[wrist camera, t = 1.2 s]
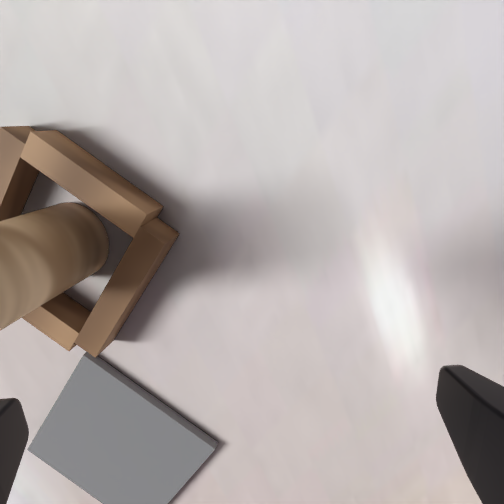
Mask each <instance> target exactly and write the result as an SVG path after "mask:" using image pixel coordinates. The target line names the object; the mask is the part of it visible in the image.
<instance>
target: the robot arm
mask: <svg viewBox="0 0 504 504" xmlns="http://www.w3.org/2000/svg"><path fill="white" fill-rule="evenodd" d="M436 402H437V407H438V409H439V412H440V414H441V416H442V419H443V421H444V423H445V426H446V428H447V430H448V433H449V435H450V437H451V440H452V442H453V444H454V447H455V449H456V451H457V454H458V456H459V458H460V460H461V463H462V465H463V467H464V469H465V471H466V474H467V476H468V478H469V480H470V481H471V483H472V485H473V487H474V489H475V491H476V493H477V494H478V496H479V498H480V500H481V502H482V503H483V504H504V387H503V386H501V385H499V384H497V383H495V382H494V381H492V380H490V379H488V378H486V377H484V376H482V375H480V374H478V373H476V372H474V371H472V370H470V369H468V368H466V367H464V366H462V365H449V366H443V367H442V368H441V369H440V372H439V379H438V386H437V393H436ZM28 436H29V430H28V425H27V422H26V419H25V415H24V412H23V409H22V406H21V403H20V401H19V400H18V399H16V398H8V399H0V504H6V503H7V500H8V497H9V494H10V491H11V488H12V485H13V482H14V479H15V476H16V473H17V470H18V467H19V465H20V462H21V459H22V456H23V453H24V450H25V447H26V444H27V441H28Z"/></svg>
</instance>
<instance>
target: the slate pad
mask: <svg viewBox="0 0 504 504" xmlns="http://www.w3.org/2000/svg"><path fill="white" fill-rule="evenodd" d="M217 444H218V442H217V441H216V440H214V439H213V438H211V437H210V436H209V435H207V434H206V433H204V432H203V431H202V430H200V429H199V428H197V427H196V426H195V425H193V424H192V423H190V422H189V421H188V420H186V419H185V418H183V417H182V416H181V415H179V414H178V413H176V412H175V411H174V410H172V409H171V408H169V407H168V406H167V405H165V404H164V403H162V402H161V401H160V400H158V399H157V398H155V397H154V396H153V395H151V394H150V393H148V392H147V391H146V390H144V389H143V388H141V387H140V386H139V385H137V384H136V383H134V382H133V381H132V380H130V379H129V378H127V377H126V376H125V375H123V374H122V373H120V372H119V371H118V370H116V369H115V368H113V367H112V366H111V365H109V364H108V363H106V362H105V361H104V360H102V359H101V358H99V357H98V356H97V357H96V358H95V357H94V356H92V355H91V354H89V353H88V352H86V353H85V354H84V355H83V357H82V358H81V360H80V362H79V363H78V365H77V367H76V368H75V370H74V372H73V373H72V375H71V377H70V379H69V380H68V382H67V384H66V385H65V387H64V389H63V390H62V392H61V394H60V395H59V397H58V399H57V401H56V402H55V404H54V406H53V407H52V409H51V411H50V412H49V414H48V416H47V417H46V419H45V421H44V423H43V424H42V426H41V428H40V429H39V431H38V433H37V434H36V436H35V438H34V439H33V441H32V443H31V444H30V446H29V448H28V451H30V452H31V453H33V454H34V455H35V456H37V457H38V458H40V459H41V460H42V461H44V462H45V463H47V464H48V465H49V466H51V467H52V468H54V469H55V470H56V471H58V472H59V473H61V474H62V475H63V476H65V477H66V478H68V479H69V480H70V481H72V482H73V483H75V484H76V485H77V486H79V487H80V488H82V489H83V490H84V491H86V492H87V493H89V494H90V495H91V496H93V497H94V498H96V499H97V500H98V501H100V502H101V503H103V504H168V503H169V502H170V501H171V499H172V498H173V497H174V496H175V495H176V494H177V493H178V491H179V490H180V489H181V488H182V487H183V486H184V485H185V483H186V482H187V481H188V480H189V479H190V478H191V476H192V475H193V474H194V473H195V472H196V471H197V470H198V468H199V467H200V466H201V465H202V464H203V463H204V462H205V460H206V459H207V458H208V457H209V456H210V455H211V454H212V452H213V451H214V450H215V449H216V446H217Z"/></svg>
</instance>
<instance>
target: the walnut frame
mask: <svg viewBox="0 0 504 504" xmlns="http://www.w3.org/2000/svg"><path fill="white" fill-rule="evenodd" d="M39 171H40V172H42V173H43V174H44V175H46V176H47V177H49V178H50V179H51V180H53V181H54V182H56V183H57V184H58V185H60V186H61V187H63V188H64V189H65V190H67V191H68V192H70V193H71V194H72V195H74V196H75V197H77V198H78V199H79V200H81V201H82V202H84V203H85V204H86V205H88V206H89V207H91V208H92V209H93V210H95V211H96V212H98V213H99V214H100V215H102V216H103V217H105V218H106V219H107V220H109V221H110V222H112V223H113V224H114V225H116V226H117V227H119V228H120V229H121V230H123V231H124V232H126V233H127V234H128V235H130V236H131V237H133V240H132V241H131V243H130V245H129V247H128V248H127V250H126V252H125V254H124V255H123V257H122V259H121V261H120V263H119V264H118V266H117V268H116V270H115V271H114V273H113V275H112V277H111V278H110V280H109V282H108V284H107V285H106V287H105V289H104V291H103V292H102V294H101V296H100V298H99V299H98V301H97V303H96V305H95V306H94V308H93V310H92V312H90V311H89V310H87V309H86V308H84V307H83V306H82V305H80V304H79V303H77V302H76V301H75V300H73V299H72V298H70V297H69V296H68V295H66V294H65V293H63V292H62V293H61V294H59V295H57V296H56V297H54V298H53V299H51V300H49V301H48V302H46V303H44V304H43V305H41V306H39V307H38V308H36V309H35V310H33V311H31V312H30V313H28V314H26V315H25V316H23V317H22V318H23V319H24V320H26V321H27V322H29V323H30V324H31V325H33V326H34V327H36V328H37V329H38V330H40V331H41V332H43V333H44V334H45V335H47V336H48V337H50V338H51V339H52V340H54V341H55V342H57V343H58V344H59V345H61V346H62V347H64V348H65V349H66V350H68V351H70V350H71V349H72V348H73V347H75V346H76V345H78V346H80V347H81V348H82V349H84V350H85V351H87V352H88V353H89V354H91V355H92V356H94V357H95V358H96V357H97V356H98V355H99V354H100V353H101V352H102V351H103V350H104V349H105V348H106V347H107V346H108V345H109V344H110V343H111V342H112V341H113V340H114V339H115V337H116V336H117V334H118V332H119V331H120V329H121V328H122V326H123V324H124V323H125V321H126V320H127V318H128V316H129V315H130V313H131V311H132V310H133V308H134V307H135V305H136V303H137V302H138V300H139V299H140V297H141V295H142V294H143V292H144V290H145V289H146V287H147V286H148V284H149V282H150V281H151V279H152V278H153V276H154V274H155V273H156V271H157V269H158V268H159V266H160V265H161V263H162V261H163V260H164V258H165V257H166V255H167V253H168V252H169V250H170V248H171V247H172V245H173V244H174V242H175V240H176V239H177V237H178V236H179V233H178V232H177V231H175V230H174V229H172V228H171V227H170V226H168V225H167V224H165V223H164V222H163V221H161V220H160V219H158V218H157V217H158V215H159V213H160V212H161V210H162V208H163V207H164V206H162V205H161V204H159V203H158V202H157V201H155V200H154V199H152V198H151V197H150V196H148V195H147V194H145V193H144V192H143V191H141V190H140V189H138V188H137V187H136V186H134V185H133V184H131V183H130V182H129V181H127V180H126V179H124V178H123V177H122V176H120V175H119V174H117V173H116V172H115V171H113V170H112V169H110V168H109V167H108V166H106V165H105V164H103V163H102V162H101V161H99V160H98V159H96V158H95V157H94V156H92V155H91V154H89V153H88V152H87V151H85V150H84V149H82V148H81V147H80V146H78V145H77V144H75V143H74V142H73V141H71V140H70V139H68V138H67V137H66V136H64V135H63V134H61V133H60V132H59V131H57V130H50V131H35V130H34V129H33V128H31V127H30V126H12V127H0V221H3V220H6V219H10V218H13V217H16V216H20V215H21V212H22V210H23V208H24V205H25V203H26V201H27V199H28V196H29V194H30V192H31V189H32V187H33V185H34V182H35V180H36V178H37V175H38V173H39Z"/></svg>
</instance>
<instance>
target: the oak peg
mask: <svg viewBox="0 0 504 504" xmlns="http://www.w3.org/2000/svg"><path fill="white" fill-rule="evenodd" d="M108 253H109V240H108V236H107V233H106V230H105V228H104V226H103V224H102V223H101V221H100V220H99V218H98V217H97V216H96V215H95V214H94V213H93V212H92V211H90V210H89V209H87V208H86V207H84V206H82V205H79V204H76V203H68V202H66V203H60V204H57V205H53V206H50V207H47V208H43V209H40V210H37V211H33V212H30V213H26V214H23V215H20V216H16V217H13V218H10V219H6V220H3V221H0V330H2V329H4V328H5V327H7V326H8V325H10V324H12V323H13V322H15V321H17V320H18V319H20V318H22V317H23V316H25V315H26V314H28V313H30V312H31V311H33V310H35V309H36V308H38V307H39V306H41V305H43V304H44V303H46V302H48V301H49V300H51V299H53V298H54V297H56V296H57V295H59V294H61V293H62V292H64V291H66V290H67V289H69V288H70V287H72V286H74V285H75V284H77V283H79V282H80V281H82V280H84V279H85V278H87V277H88V276H90V275H92V274H93V273H95V272H97V271H98V270H99V269H100V268H101V267H102V266H103V265H104V263H105V262H106V259H107V257H108Z"/></svg>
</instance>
